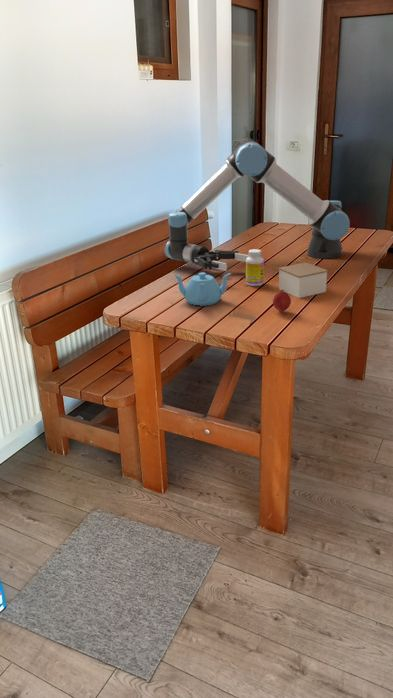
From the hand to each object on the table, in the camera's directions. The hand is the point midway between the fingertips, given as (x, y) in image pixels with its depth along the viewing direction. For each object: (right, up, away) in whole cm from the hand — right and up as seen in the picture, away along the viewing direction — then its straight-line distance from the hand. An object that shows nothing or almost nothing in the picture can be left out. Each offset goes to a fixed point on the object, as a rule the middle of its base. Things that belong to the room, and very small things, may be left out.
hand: (237, 262), depth 219 cm
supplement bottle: (+6, -8, -2) cm, 11 cm away
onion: (+12, -21, -30) cm, 39 cm away
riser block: (+23, -12, -11) cm, 28 cm away
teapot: (-13, -17, -18) cm, 28 cm away
